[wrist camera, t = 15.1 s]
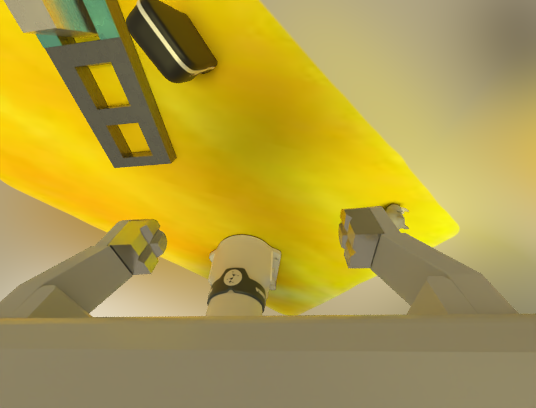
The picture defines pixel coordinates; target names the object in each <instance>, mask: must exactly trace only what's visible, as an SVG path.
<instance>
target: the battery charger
mask: <svg viewBox="0 0 536 408" xmlns="http://www.w3.org/2000/svg"><path fill="white" fill-rule="evenodd" d="M126 25H127V28H128V31H129V33H130V34H131V35H132V37H133V38H134V39H135V41H136V42H137V43H138V45H139V46H140V47H141V48H142V50H143V51H144V52H145V53H146V55H147V56H148V57H149V59H150V60H151V61H152V62H153V64H154V65H155V66H156V67H157V68H158V70H159V71H160V72H161V73H162V75H163V76H164V77H165V78H166V79H168V80H169V81H171V82H173V83H182V82H187V81H190V80H192V79H193V78H194V77H196V76H197V75H198V74H201V73H202V74H204V73H207V72H209V71H210V70H212V69H214V68H215V66H216V65H217V61H216V59H215V58H214V56H213V55H212V53H211V51H210V50H209V48H208V47H207V45H206V44H205V42H204V41H203V39H202V38H201V36H200V34H199V33H198V31H197V30H196V28H195V27H194V25H193V24H192V22H191V21H190V19H189V18H188V16H187V15H186V14H184V13H182V12H180V11H177V10H176V9H174V8H172V7H170V6H168V5H167V4H165V3H163V2H161V1H159V0H138V1H137V5H136V6H135V7H134V9H133V10H132V11H131V12H130V14H129V16H128V17H127V19H126Z"/></svg>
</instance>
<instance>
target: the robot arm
mask: <svg viewBox="0 0 536 408" xmlns="http://www.w3.org/2000/svg"><path fill="white" fill-rule="evenodd" d="M340 218H341V220H342V223H341V224H339V240H340V244H341V247H343V248H344V249H345V252H344V256H345V259H346V262H347V265H348V268H371V270H372V271H373V272H375V273H376V274H377V275H378V276H379V277H380V278H381V279H383V281H384V282H385V283H386V284H388V285H389V286H390V287H391V288H392V289H393V290H394V291H395V292H396V293H397V294H399V295H400V296H401V297H402V298H403V299H404V300H405V301H406V302H407V303H409V305H410V306H411V308H410V310H409V311H408V313H407V315H311V316H310V315H308V316H307V315H305V316H262V313H263V312H264V308H265V304H266V299H267V298H268V292H269V290H275V289H276V279H277V274H278V269H279V263H280V258H281V252H280V251H279V250H277V249H274V248H272V247H270V246H269V245H268V244H266V243H265V242H264V241H262V240H261V239H259V238H256V237H253V236H248V235H235V236H231V237H228V238H226V239H225V240H223V241H222V242H221V243H220V244H219V246H218V248H217V249H216V250H215V251H213V252H211V253H210V256H209V259H210V260H211V262H212V266H211V270H210V274H209V279H208V281H209V283H210V285H211V290H210V292H209V295H208V302H207V304H208V309H207V312H206V316H197V317H196V316H195V317H194V316H189V317H92V316H91V315H89V313H90V312H91V311H92V310H94V309H95V308H96V307H97V306H98V305H99V304H101V303H102V302H103V301H104V300H105V299H106V298H107V297H109V296H110V295H111V294H112V293H113V292H114V291H116V290H117V289H118V288H119V287H120V286H121V285H123V284H124V283H125V282H126V281H127V280H128V279H130V278H131V277H132V275H137V274H151V273H152V271H153V270H154V268H155V266H156V264H157V263H158V257H159V256H160V255H162V254H163V253H164V251H165V249H166V245H167V239H166V236H165V234H164V233H163V232H162V231H160V230H159V228H160V225H159V223H158V221H157V220H154V219H142V220H122V221H119V222H118V223H117V224H116V225H115V226H114V227H113V228H112V229H111V230H110V231H109V232H108V233H107V234H106V235H105V236H104V237H103V238H102V239H101V240H100V241H99V242H98V243H97V244H96V245H95V246H93V247H89V248H87V249H85V250H84V251H82V252H80V253H78V254H76V255H75V256H72V257H71V258H69V259H67V260H65V261H63V262H61V263H60V264H58V265H56V266H54V267H52V268H50V269H48V270H47V271H45V272H43V273H41V274H39V275H37V276H35V277H34V278H32V279H30V280H28V281H26V282H24V283H23V284H20V285H19V286H18V287H17V288H16V289H14V290H13V291H12V292H11V293H10V294H9V295H8V296H7V297H5V298H4V299H3V300H2V301H1V302H0V408H536V314H519V313H518V312H517V311H516V310H515V309H514V308H513V307H512V306H511V305H510V304H509V303H508V301H507V300H506V299H505V298H504V297H503V296H502V295H501V294H500V293H499V292H498V291H497V290H496V289H495V288H494V287H493V285H492V284H491V283H490V282H489V281H488V280H487V279H486V278H485V277H484V276H483V275H482V274H481V273H479V272H477V271H475V270H473V269H471V268H469V267H467V266H466V265H464V264H462V263H460V262H458V261H456V260H454V259H453V258H451V257H449V256H447V255H445V254H443V253H441V252H439V251H438V250H436V249H434V248H432V247H430V246H428V245H426V244H425V243H423V242H421V241H419V240H417V239H415V238H413V237H411V236H410V235H408V234H406V233H400V231H399V230H398V228H397V227H396V226H395V224H394V223H393V221H392V220H391V219H390V217H389V216H388V214H387V213H386V212H385V210H384V209H383V207H381V206H375V207H367V208H351V209H342V210H341V214H340Z"/></svg>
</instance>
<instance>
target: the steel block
mask: <svg viewBox="0 0 536 408" xmlns="http://www.w3.org/2000/svg"><path fill="white" fill-rule="evenodd" d="M4 1H5V3H6V5H7V6H8V8H9V10H10V11H11V13H12V15H13V16H14V18H15V20H16V21H17V23H18V25H19V26H20V28H21V30H22V31H23V33H32V34H42V35H53V36H63V37H73V38H86V37H93V36H99V35H98V33H97V31H96V29H95V26H94V24H93V22H92V20H91V17H90V15H89V13H88V11H87V9H86V6H85V4H84V2H83V0H4Z"/></svg>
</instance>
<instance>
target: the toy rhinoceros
mask: <svg viewBox="0 0 536 408" xmlns="http://www.w3.org/2000/svg"><path fill="white" fill-rule="evenodd" d="M403 211H407V212H409V211H408V210H407V209H406V208H404V207H400V206H399V205H396V204H392V205H390V206H388V207H387V209H386V211H385V212H386V213H387V214H388V216H389V217H390V219H391V220H392V221H393V223H394V224H395V226H396V227H397V228H398V229H400V228H403V229H409V228H408V227H407V226H406V225H405V220H404V217H403V215H402V214H403V213H404V212H403Z"/></svg>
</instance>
